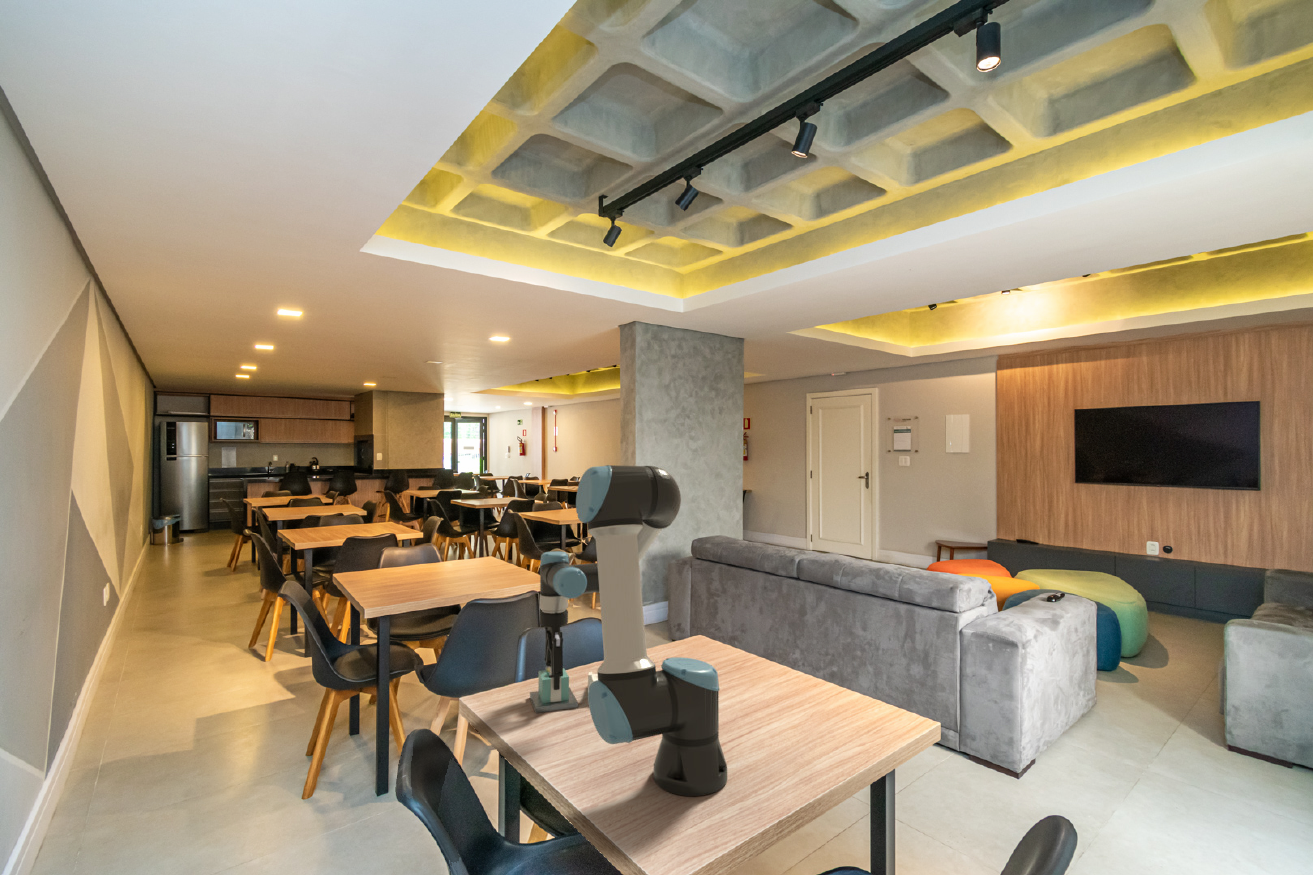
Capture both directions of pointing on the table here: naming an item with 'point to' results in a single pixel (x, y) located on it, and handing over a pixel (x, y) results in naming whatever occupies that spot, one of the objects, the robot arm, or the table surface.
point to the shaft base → (552, 706)
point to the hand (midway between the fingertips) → (553, 695)
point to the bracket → (591, 679)
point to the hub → (546, 686)
